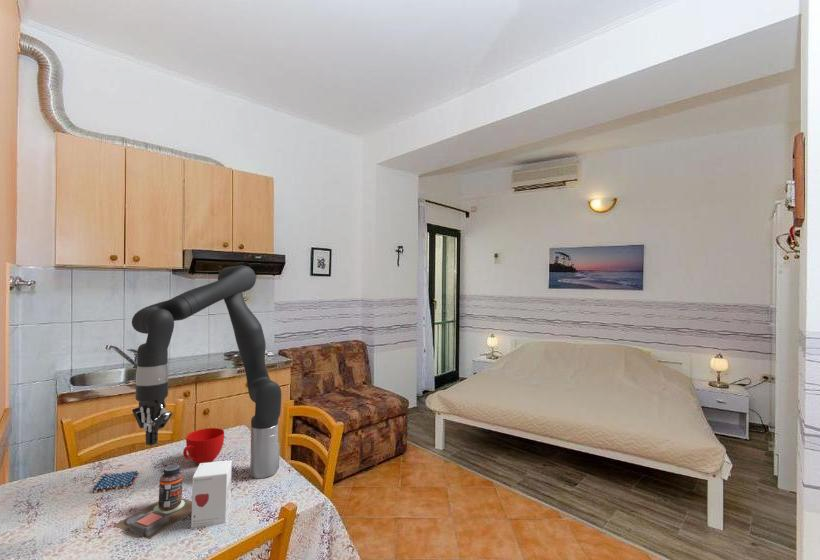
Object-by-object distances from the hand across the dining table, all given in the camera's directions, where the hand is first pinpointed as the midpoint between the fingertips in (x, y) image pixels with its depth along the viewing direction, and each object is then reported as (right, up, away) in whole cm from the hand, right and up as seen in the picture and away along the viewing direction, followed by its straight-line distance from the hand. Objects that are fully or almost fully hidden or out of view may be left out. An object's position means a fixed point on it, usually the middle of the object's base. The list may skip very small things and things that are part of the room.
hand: (151, 444), depth 107 cm
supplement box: (+14, -24, +5) cm, 28 cm away
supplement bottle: (-1, -23, +10) cm, 25 cm away
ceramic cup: (-8, -24, +40) cm, 48 cm away
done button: (0, -22, 0) cm, 22 cm away
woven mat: (-28, -24, +24) cm, 44 cm away
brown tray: (-1, -24, +5) cm, 24 cm away
